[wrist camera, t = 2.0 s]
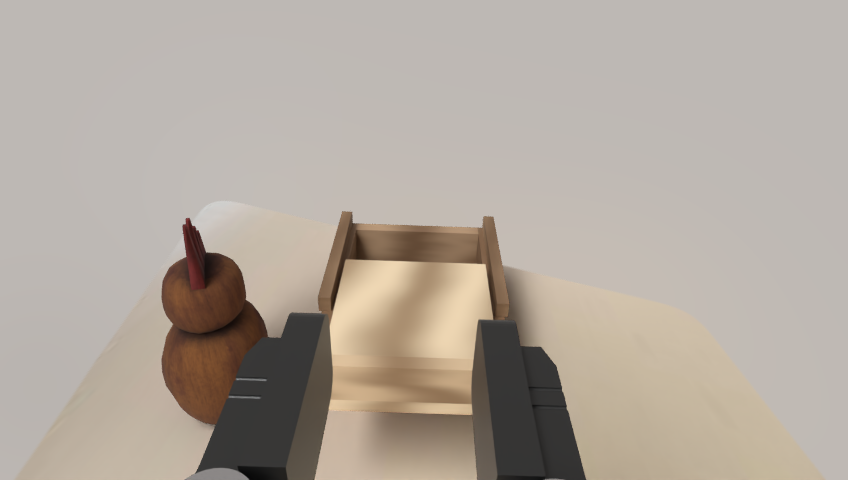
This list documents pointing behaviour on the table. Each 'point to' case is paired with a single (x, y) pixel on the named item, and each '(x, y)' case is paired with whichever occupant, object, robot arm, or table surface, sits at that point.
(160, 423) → the table surface
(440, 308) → the lid
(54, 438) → the table surface
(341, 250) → the light wooden box
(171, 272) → the wooden figurine
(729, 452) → the table surface
